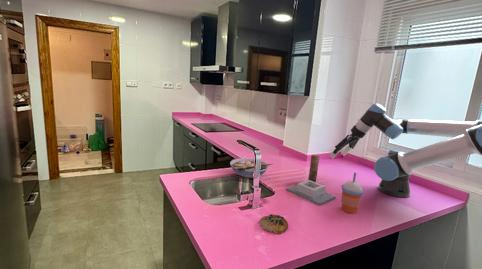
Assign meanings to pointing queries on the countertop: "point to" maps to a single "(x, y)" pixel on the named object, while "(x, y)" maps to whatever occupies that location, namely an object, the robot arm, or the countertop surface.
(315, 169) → the peg
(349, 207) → the cup with straw
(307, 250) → the countertop surface
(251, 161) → the ramen bowl
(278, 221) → the bread roll
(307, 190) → the socket
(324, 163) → the countertop surface
